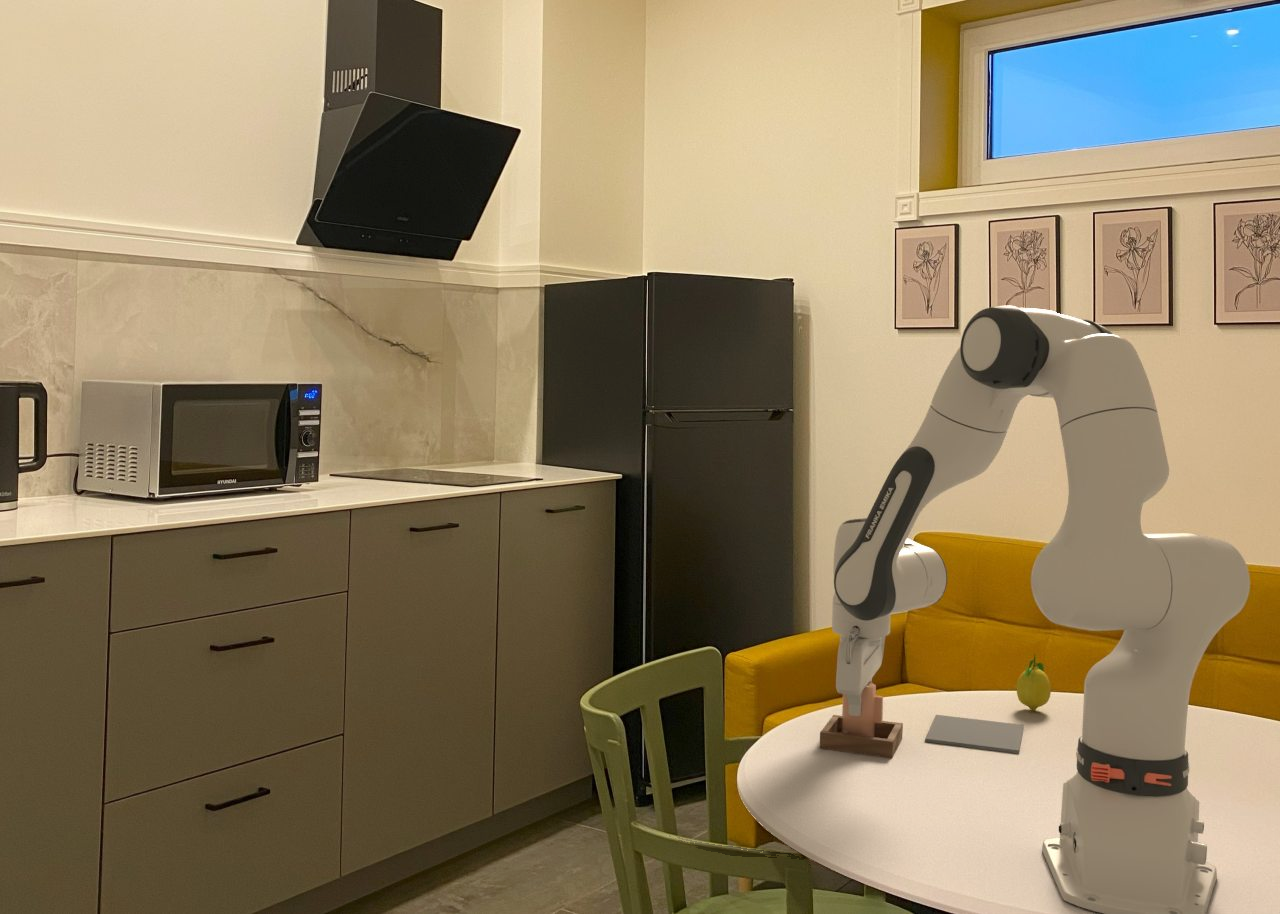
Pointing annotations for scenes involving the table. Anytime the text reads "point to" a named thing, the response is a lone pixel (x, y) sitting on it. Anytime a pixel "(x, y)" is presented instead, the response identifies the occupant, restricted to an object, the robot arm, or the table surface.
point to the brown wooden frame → (862, 738)
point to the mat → (975, 733)
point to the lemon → (1033, 686)
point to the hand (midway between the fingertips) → (858, 709)
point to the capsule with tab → (863, 713)
